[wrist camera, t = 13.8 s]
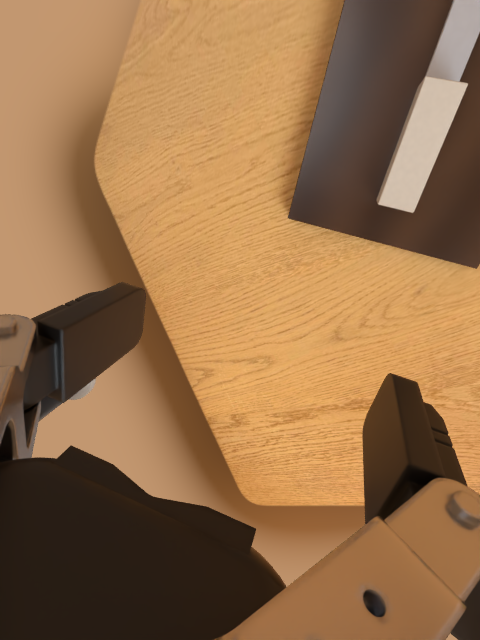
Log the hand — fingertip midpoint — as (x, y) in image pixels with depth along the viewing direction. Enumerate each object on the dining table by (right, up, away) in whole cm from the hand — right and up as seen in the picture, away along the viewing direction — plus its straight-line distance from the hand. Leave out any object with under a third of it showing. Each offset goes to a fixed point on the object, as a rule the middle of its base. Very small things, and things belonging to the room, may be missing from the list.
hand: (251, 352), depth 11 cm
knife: (+14, +18, +13) cm, 26 cm away
